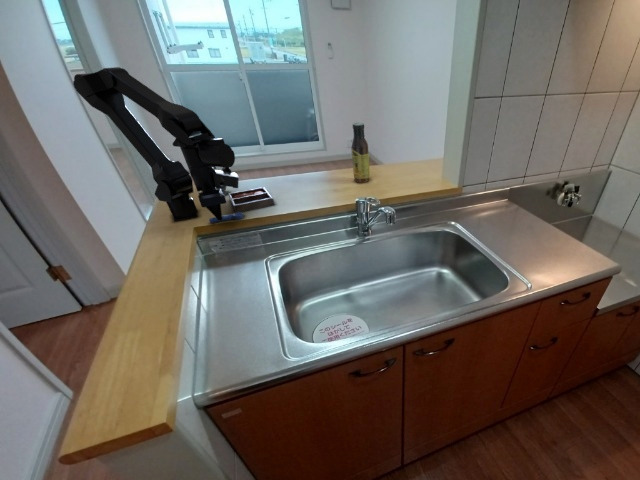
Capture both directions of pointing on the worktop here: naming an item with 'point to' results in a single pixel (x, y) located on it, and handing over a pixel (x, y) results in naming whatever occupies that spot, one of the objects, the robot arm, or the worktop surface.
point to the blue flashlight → (227, 217)
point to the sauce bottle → (360, 154)
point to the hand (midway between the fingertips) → (219, 218)
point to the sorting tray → (251, 200)
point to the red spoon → (248, 194)
